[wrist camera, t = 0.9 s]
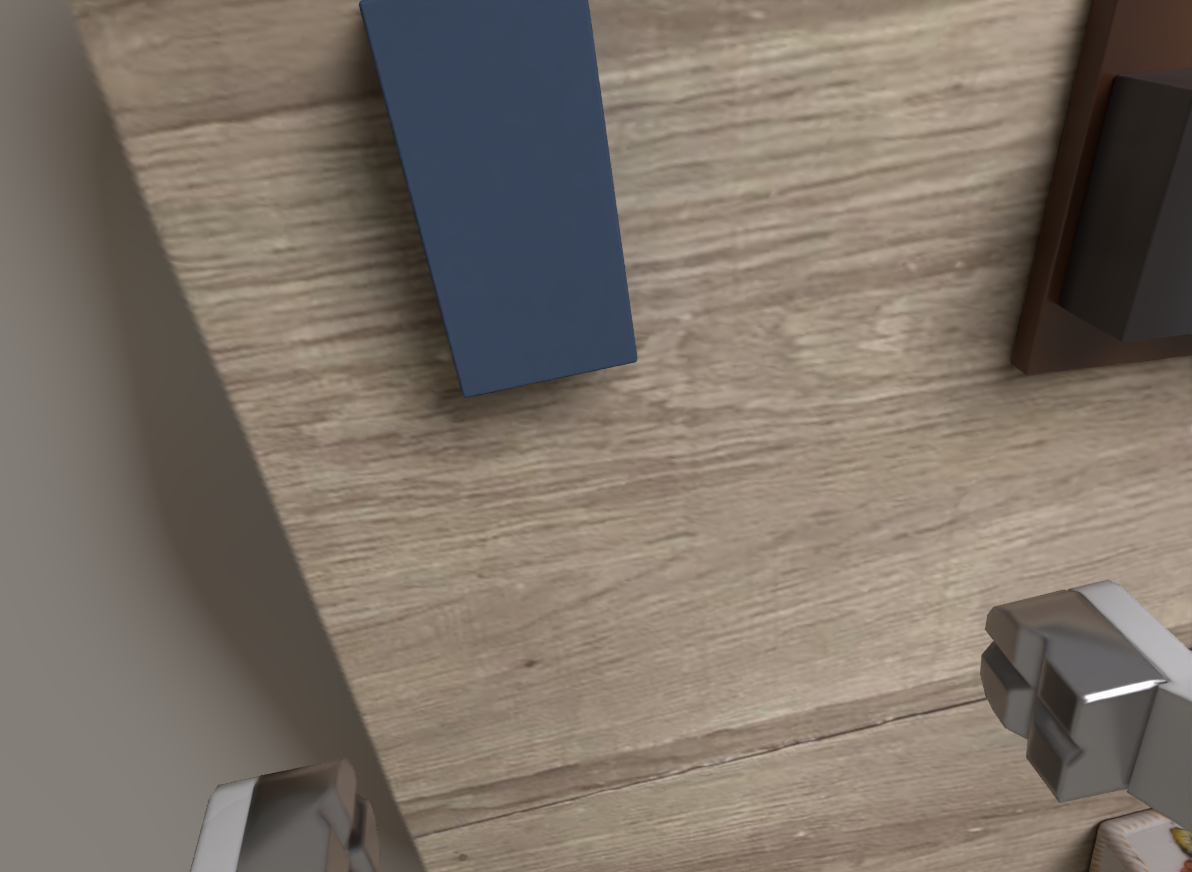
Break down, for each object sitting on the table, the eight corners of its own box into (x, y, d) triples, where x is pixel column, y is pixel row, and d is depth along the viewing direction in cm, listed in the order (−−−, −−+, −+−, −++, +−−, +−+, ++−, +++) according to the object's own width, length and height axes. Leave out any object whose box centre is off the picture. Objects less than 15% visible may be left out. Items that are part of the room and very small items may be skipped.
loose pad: (367, -7, 21) (356, 0, 18) (565, -43, 21) (583, -40, 19) (460, 354, 26) (463, 400, 24) (618, 322, 26) (638, 362, 24)
